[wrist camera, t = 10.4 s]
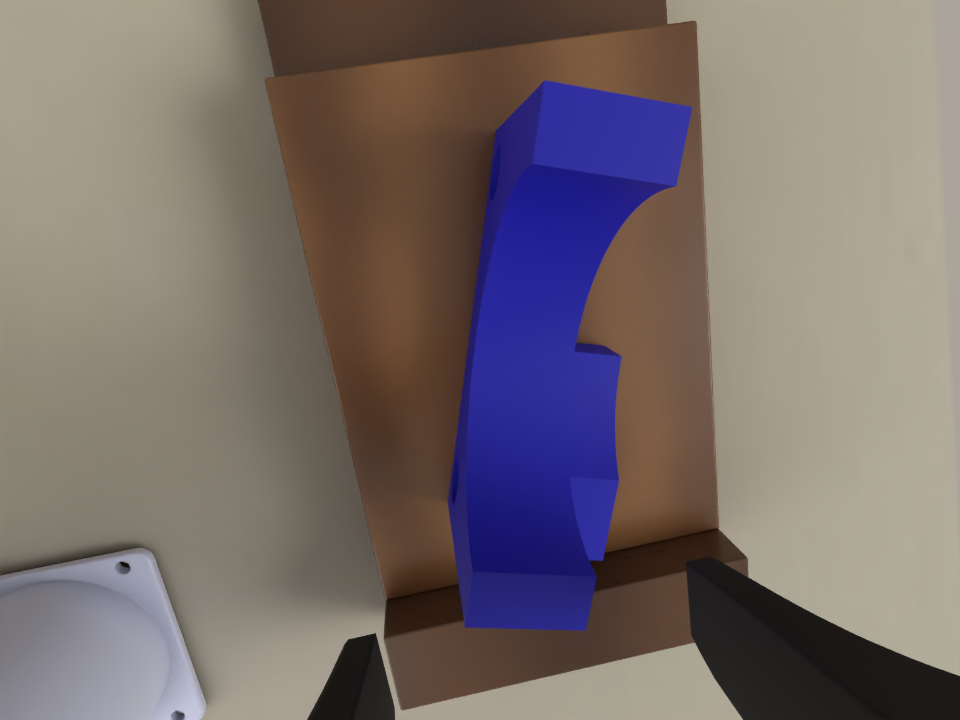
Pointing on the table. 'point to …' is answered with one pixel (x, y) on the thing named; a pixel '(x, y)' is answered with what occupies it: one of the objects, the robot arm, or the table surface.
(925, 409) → the table surface
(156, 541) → the table surface
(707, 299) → the step shelf
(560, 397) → the blue curved notched block
